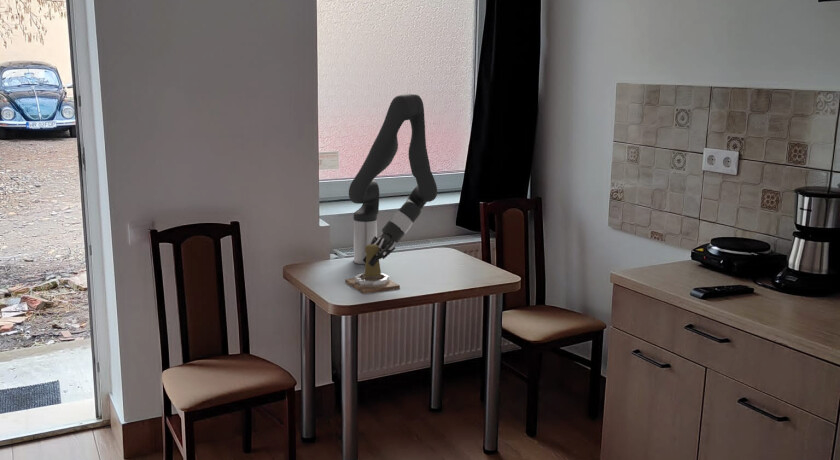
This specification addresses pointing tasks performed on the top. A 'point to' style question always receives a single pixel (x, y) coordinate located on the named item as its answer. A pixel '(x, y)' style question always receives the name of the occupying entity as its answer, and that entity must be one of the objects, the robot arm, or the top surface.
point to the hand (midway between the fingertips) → (367, 263)
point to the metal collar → (369, 283)
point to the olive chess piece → (370, 252)
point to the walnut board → (365, 289)
